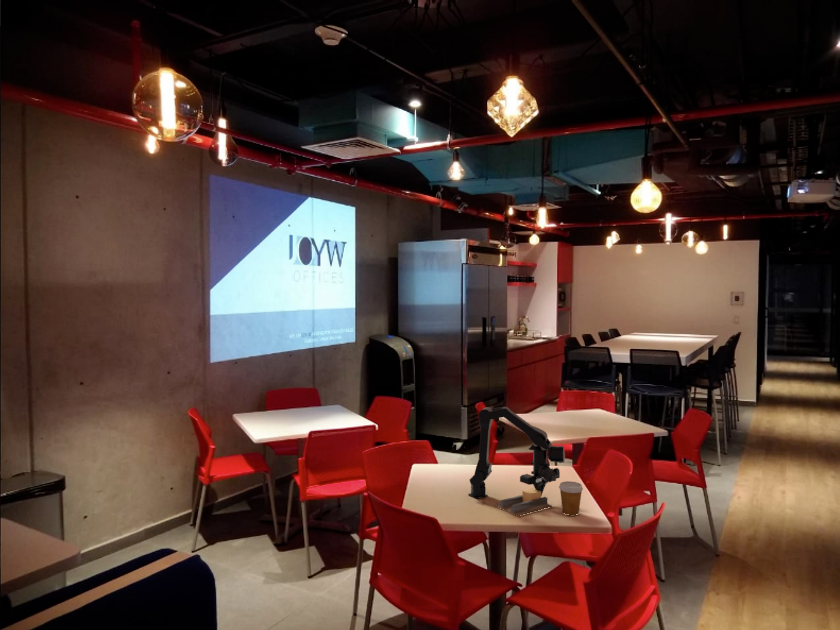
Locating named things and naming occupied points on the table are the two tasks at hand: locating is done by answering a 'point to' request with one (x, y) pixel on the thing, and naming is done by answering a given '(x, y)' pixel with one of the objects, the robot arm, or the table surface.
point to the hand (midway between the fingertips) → (539, 496)
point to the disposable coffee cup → (570, 497)
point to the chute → (523, 505)
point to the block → (531, 494)
